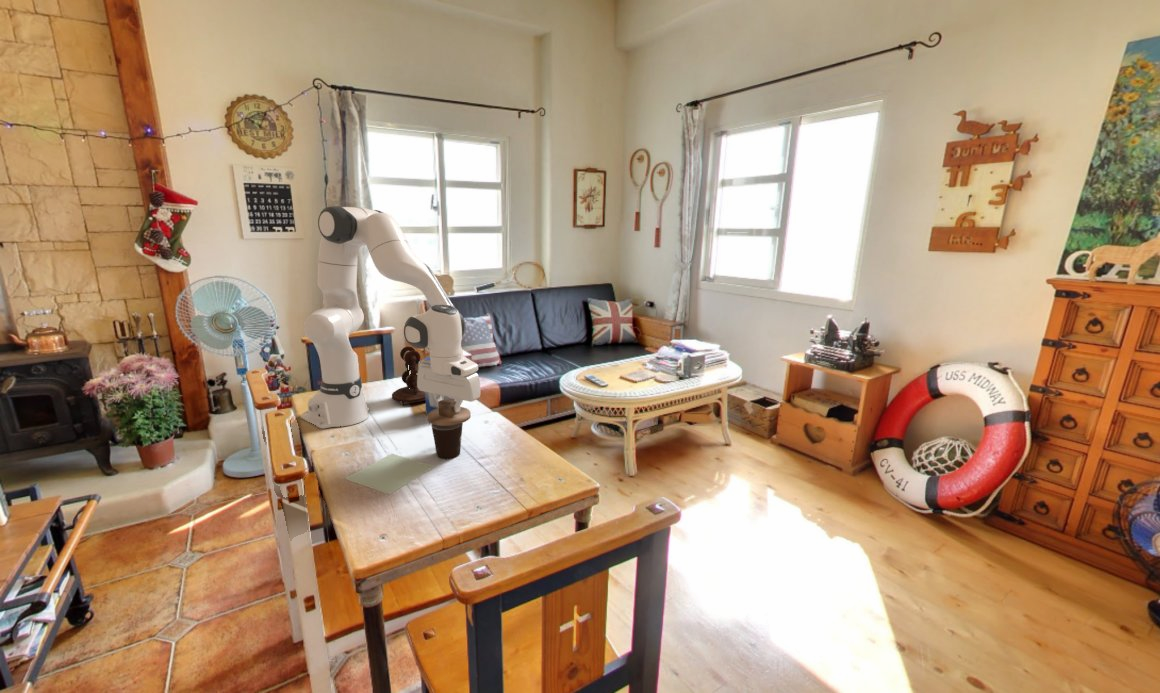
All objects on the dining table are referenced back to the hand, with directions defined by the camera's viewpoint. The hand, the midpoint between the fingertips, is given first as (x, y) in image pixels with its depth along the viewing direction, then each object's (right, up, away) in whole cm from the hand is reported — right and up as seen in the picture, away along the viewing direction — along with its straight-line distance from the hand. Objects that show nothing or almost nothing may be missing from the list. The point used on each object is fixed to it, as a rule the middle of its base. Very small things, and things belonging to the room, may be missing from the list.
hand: (449, 409), depth 138 cm
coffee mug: (0, -13, +3) cm, 14 cm away
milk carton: (-11, -6, +33) cm, 35 cm away
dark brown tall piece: (-26, -2, +45) cm, 52 cm away
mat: (-13, -16, -9) cm, 23 cm away
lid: (0, -2, +1) cm, 2 cm away
